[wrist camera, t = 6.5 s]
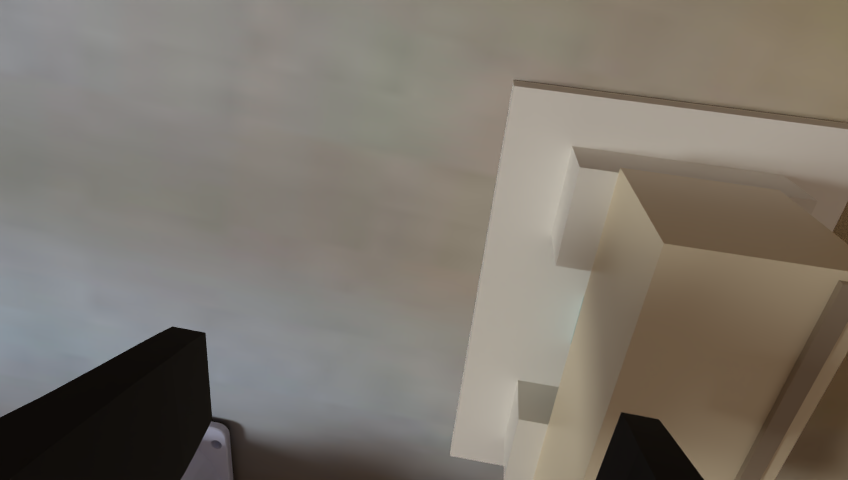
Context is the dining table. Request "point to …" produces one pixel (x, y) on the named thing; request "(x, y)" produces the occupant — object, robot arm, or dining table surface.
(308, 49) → the dining table surface
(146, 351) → the robot arm
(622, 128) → the display stand
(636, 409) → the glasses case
